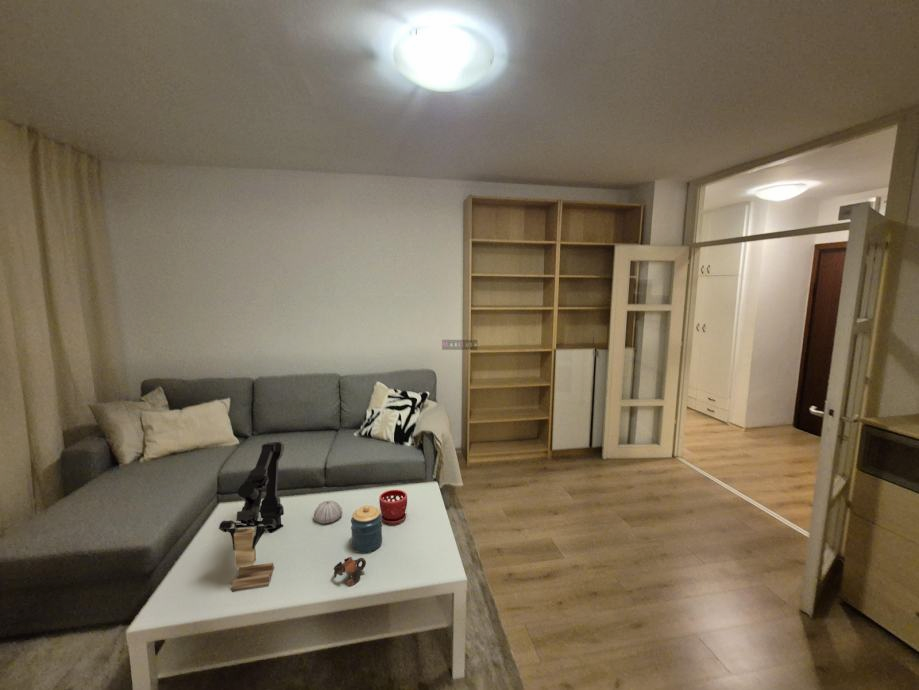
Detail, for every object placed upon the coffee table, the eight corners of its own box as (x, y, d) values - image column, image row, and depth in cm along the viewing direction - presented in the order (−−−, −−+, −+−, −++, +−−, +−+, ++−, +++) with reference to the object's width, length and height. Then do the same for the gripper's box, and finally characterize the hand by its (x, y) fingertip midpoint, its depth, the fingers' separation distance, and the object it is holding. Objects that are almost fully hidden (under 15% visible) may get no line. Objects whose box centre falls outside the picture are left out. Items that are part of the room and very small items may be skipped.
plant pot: (412, 516, 192) (412, 493, 191) (394, 529, 181) (394, 505, 180) (392, 508, 199) (392, 486, 197) (373, 520, 188) (373, 497, 186)
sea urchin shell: (307, 522, 187) (306, 506, 186) (327, 508, 199) (326, 493, 198) (329, 528, 181) (329, 512, 180) (348, 513, 194) (348, 498, 193)
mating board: (240, 572, 152) (240, 565, 152) (274, 567, 155) (273, 560, 155) (232, 591, 143) (232, 584, 142) (268, 586, 146) (268, 578, 145)
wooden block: (238, 561, 148) (236, 529, 147) (255, 560, 150) (254, 528, 148) (235, 567, 146) (233, 534, 144) (253, 565, 147) (251, 532, 145)
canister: (388, 543, 171) (387, 505, 169) (362, 558, 162) (361, 518, 159) (370, 531, 180) (370, 494, 177) (345, 544, 170) (344, 506, 168)
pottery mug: (342, 593, 143) (333, 571, 144) (338, 588, 151) (329, 567, 152) (372, 572, 150) (363, 551, 151) (366, 568, 158) (357, 549, 159)
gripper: (219, 501, 147) (207, 547, 137) (272, 497, 150) (265, 542, 141) (228, 509, 155) (219, 553, 146) (279, 505, 159) (272, 548, 149)
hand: (243, 549), depth 145 cm, fingers closed on wooden block, 6 cm apart
